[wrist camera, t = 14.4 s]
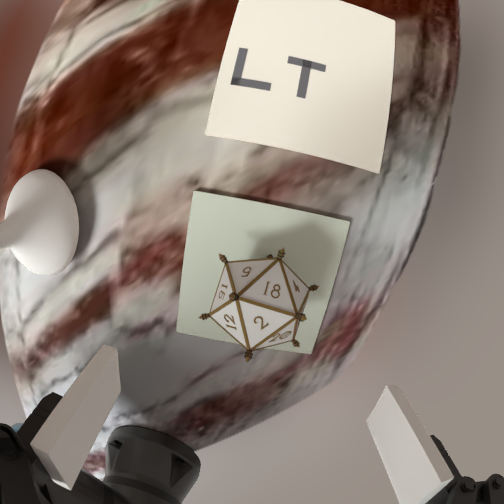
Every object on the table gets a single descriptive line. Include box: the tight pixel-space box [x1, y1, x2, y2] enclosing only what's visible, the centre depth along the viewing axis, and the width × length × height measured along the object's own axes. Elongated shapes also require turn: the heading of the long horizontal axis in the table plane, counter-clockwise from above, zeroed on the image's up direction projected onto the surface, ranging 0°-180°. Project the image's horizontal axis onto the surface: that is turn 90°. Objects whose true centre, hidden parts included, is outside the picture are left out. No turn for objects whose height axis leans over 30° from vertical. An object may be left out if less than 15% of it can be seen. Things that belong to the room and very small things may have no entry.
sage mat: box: [176, 191, 350, 354], centre depth 26 cm, size 14×14×1 cm
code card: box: [205, 0, 395, 174], centre depth 21 cm, size 18×16×1 cm
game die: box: [198, 248, 319, 362], centre depth 22 cm, size 9×8×10 cm
